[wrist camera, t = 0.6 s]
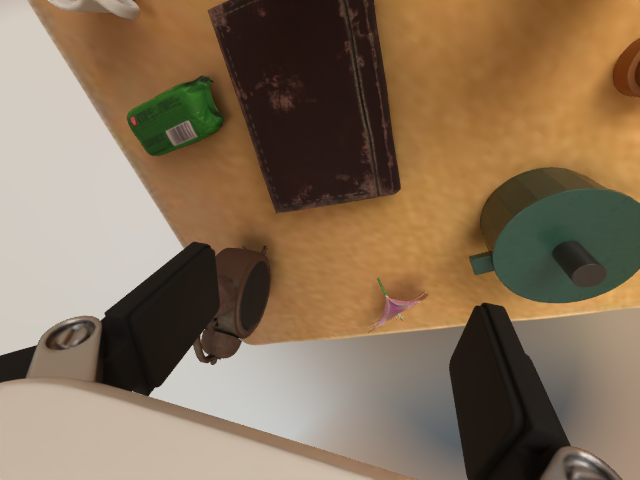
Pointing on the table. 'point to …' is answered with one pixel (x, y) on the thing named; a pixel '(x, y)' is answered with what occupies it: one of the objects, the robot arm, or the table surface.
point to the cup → (101, 7)
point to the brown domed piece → (628, 71)
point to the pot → (520, 203)
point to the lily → (394, 308)
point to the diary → (311, 97)
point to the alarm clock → (235, 302)
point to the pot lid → (569, 245)
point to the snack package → (176, 117)
